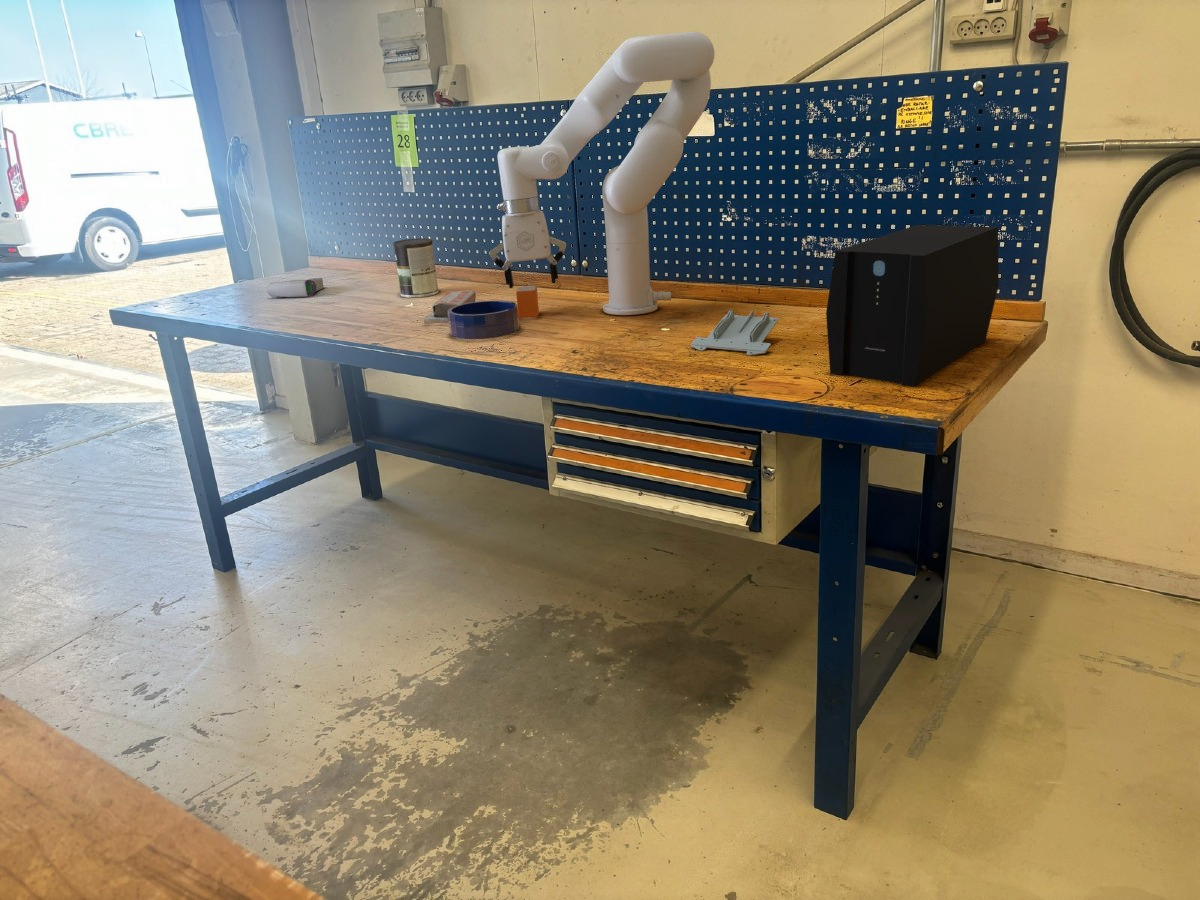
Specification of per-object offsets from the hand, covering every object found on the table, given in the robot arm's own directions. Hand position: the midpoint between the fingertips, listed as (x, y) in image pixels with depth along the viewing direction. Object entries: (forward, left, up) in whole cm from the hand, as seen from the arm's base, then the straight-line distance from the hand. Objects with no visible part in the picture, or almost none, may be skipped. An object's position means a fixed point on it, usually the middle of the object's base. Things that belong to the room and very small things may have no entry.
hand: (532, 284), depth 192 cm
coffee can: (+33, -38, -8) cm, 51 cm away
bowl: (+10, +13, -7) cm, 18 cm away
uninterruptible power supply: (-68, +50, -8) cm, 85 cm away
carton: (+1, 0, -7) cm, 8 cm away
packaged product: (+19, -6, -8) cm, 21 cm away
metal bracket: (-41, +35, -8) cm, 54 cm away
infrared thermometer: (+70, -51, -8) cm, 87 cm away
